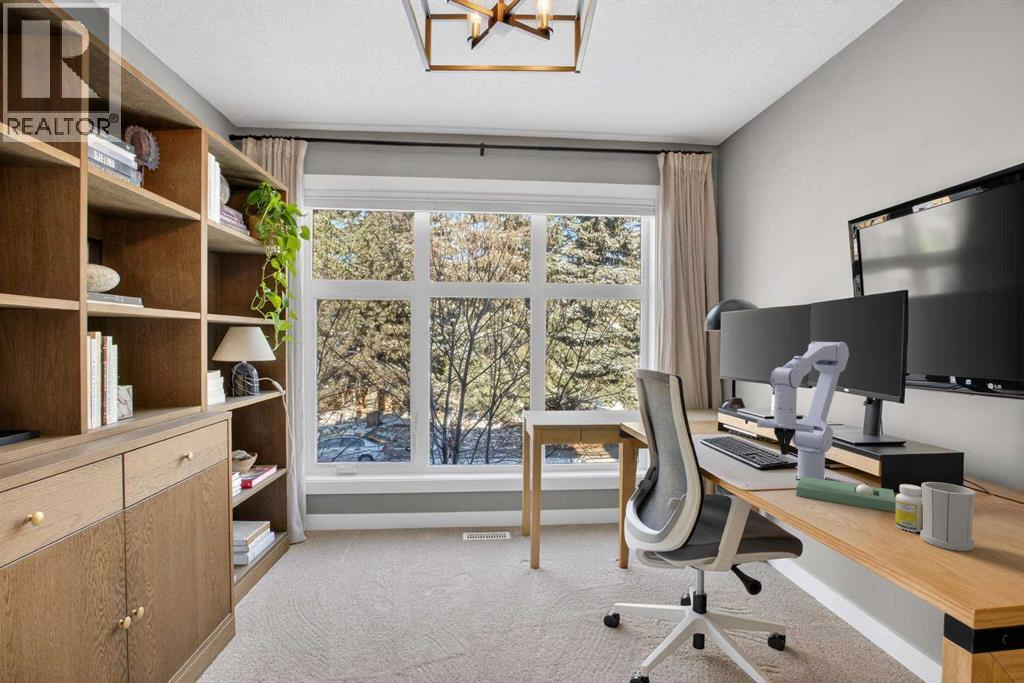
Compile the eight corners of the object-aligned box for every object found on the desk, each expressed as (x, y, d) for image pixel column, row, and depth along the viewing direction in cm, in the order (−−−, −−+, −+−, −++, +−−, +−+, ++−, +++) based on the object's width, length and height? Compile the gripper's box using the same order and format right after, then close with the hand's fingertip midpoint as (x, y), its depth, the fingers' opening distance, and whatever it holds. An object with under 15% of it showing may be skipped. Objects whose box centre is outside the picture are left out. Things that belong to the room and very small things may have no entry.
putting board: (800, 484, 151) (800, 476, 151) (892, 498, 139) (893, 489, 139) (796, 495, 140) (796, 486, 140) (895, 512, 128) (896, 502, 128)
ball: (873, 500, 137) (855, 497, 140) (873, 485, 138) (855, 482, 140) (873, 501, 134) (855, 498, 136) (874, 486, 135) (856, 483, 137)
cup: (920, 529, 116) (921, 477, 116) (973, 540, 111) (975, 485, 110) (919, 544, 108) (921, 488, 108) (977, 556, 102) (979, 497, 102)
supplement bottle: (914, 525, 119) (915, 483, 119) (930, 534, 114) (932, 490, 114) (889, 523, 120) (890, 482, 120) (905, 532, 114) (906, 489, 114)
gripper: (755, 407, 150) (755, 453, 150) (812, 412, 141) (811, 460, 142) (759, 404, 155) (758, 449, 156) (814, 409, 147) (813, 455, 147)
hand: (784, 454), depth 149 cm, fingers closed
